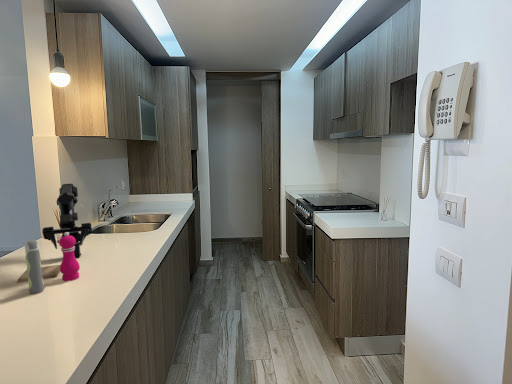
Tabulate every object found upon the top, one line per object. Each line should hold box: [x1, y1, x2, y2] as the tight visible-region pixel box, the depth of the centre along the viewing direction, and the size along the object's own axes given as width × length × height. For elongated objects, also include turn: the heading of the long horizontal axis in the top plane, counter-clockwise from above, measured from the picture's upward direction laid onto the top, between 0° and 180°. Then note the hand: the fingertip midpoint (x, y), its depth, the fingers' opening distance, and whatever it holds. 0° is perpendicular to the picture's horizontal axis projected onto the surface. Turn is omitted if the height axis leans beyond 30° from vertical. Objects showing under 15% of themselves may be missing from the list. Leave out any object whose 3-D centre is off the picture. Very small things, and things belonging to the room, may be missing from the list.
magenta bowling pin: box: [58, 232, 81, 282], centre depth 136 cm, size 7×7×20 cm
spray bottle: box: [24, 239, 45, 295], centre depth 124 cm, size 5×5×20 cm
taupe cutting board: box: [17, 264, 61, 283], centre depth 143 cm, size 14×14×1 cm
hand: (68, 247), depth 140 cm, fingers open, 9 cm apart
